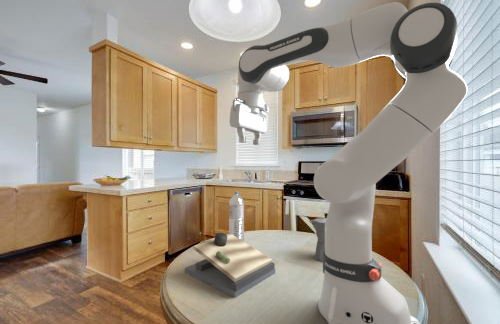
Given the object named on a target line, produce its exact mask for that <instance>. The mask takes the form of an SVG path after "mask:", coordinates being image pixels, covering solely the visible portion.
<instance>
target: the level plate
mask: <svg viewBox="0 0 500 324" xmlns="http://www.w3.org/2000/svg"><path fill="white" fill-rule="evenodd" d="M193 250H194V251H196V252H197V253H198V254H199V255H200V256H201V257H203V258H204V260H205V259H207V260H208V261H209V262H210V263H212V264H213V265H214V266H215V267H217V268H218V269H219V270H220V271H222V272H223V273H224V274H225V275H227V276H228V277H229V278H230V279H232V280H233V281H234V282H236V281H238V280H240V279H242V278H244V277H246V276H247V275H249V274H251V273H253V272H255V271H257V270H259V269H260V268H262V267H264V266H266V265H268V264H270V263H271V262H272V261H273V259H272V258H271V257H270V256H268V255H265V254H264V253H263V252H261V251H259V250H257V249H256V248H254V247H253V246H251V245H249V244H248V243H246V242H245V241H244V242H243V241H242V240H240V239H239V238H237V237H235V236H234V235H232V234H231V235H229V234H228V235H227V234H226V233H223V232H216V233H215V235H214V239H213V240H210V241H206V242H203V243H200V244H196V245H194V246H193ZM272 263H273V262H272Z"/></svg>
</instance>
